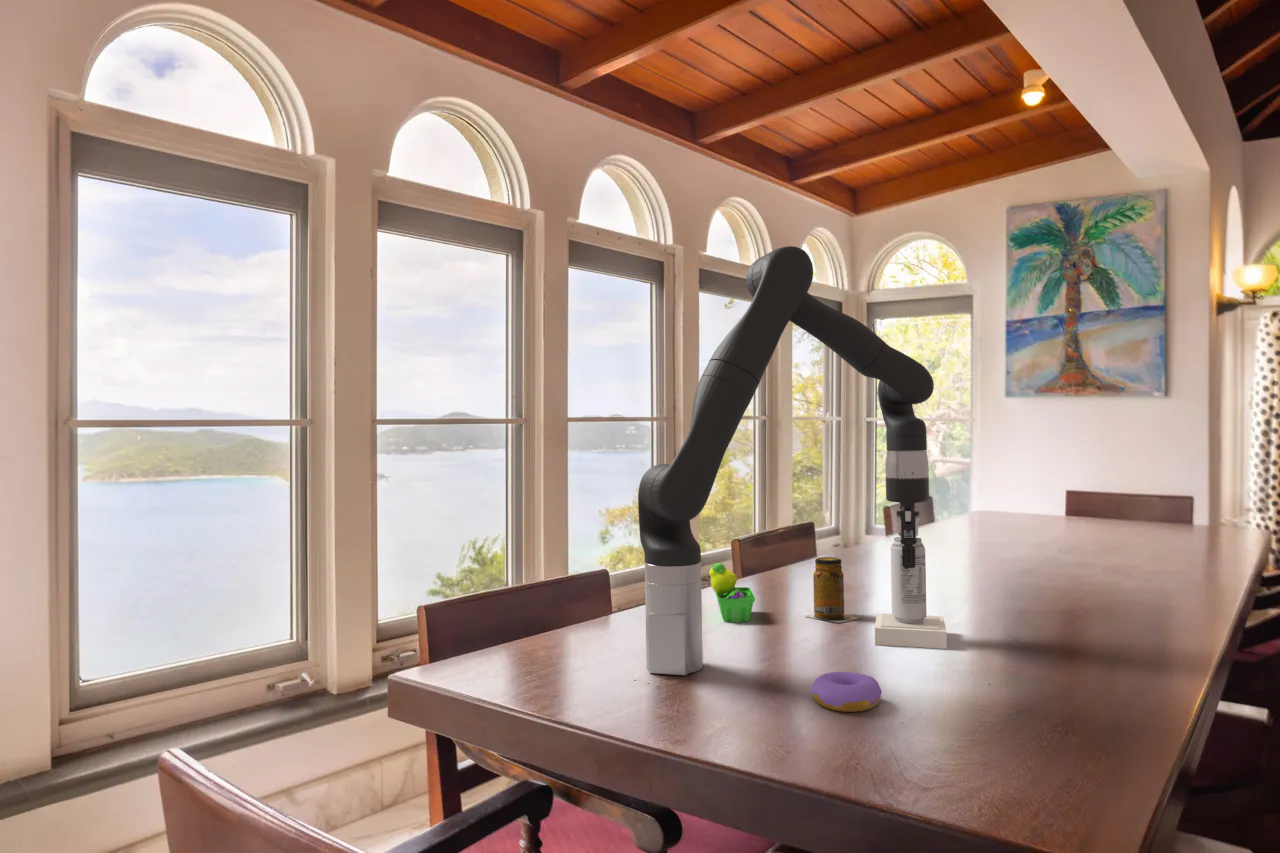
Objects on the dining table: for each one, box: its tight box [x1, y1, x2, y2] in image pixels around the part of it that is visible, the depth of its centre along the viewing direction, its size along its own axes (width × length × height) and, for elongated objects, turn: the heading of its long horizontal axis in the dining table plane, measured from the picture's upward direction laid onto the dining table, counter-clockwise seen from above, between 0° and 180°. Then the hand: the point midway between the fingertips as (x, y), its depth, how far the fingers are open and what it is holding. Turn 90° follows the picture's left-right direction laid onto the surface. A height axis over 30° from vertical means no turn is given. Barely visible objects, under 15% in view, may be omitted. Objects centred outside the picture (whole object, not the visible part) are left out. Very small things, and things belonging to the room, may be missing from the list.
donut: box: [811, 671, 882, 713], centre depth 117 cm, size 10×9×5 cm
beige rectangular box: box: [874, 612, 948, 650], centre depth 152 cm, size 12×12×3 cm
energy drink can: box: [890, 536, 927, 624], centre depth 152 cm, size 6×6×15 cm
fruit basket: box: [708, 562, 756, 623], centre depth 172 cm, size 11×9×11 cm
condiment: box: [805, 556, 861, 623], centre depth 170 cm, size 7×8×12 cm
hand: (908, 564), depth 152 cm, fingers open, 8 cm apart
